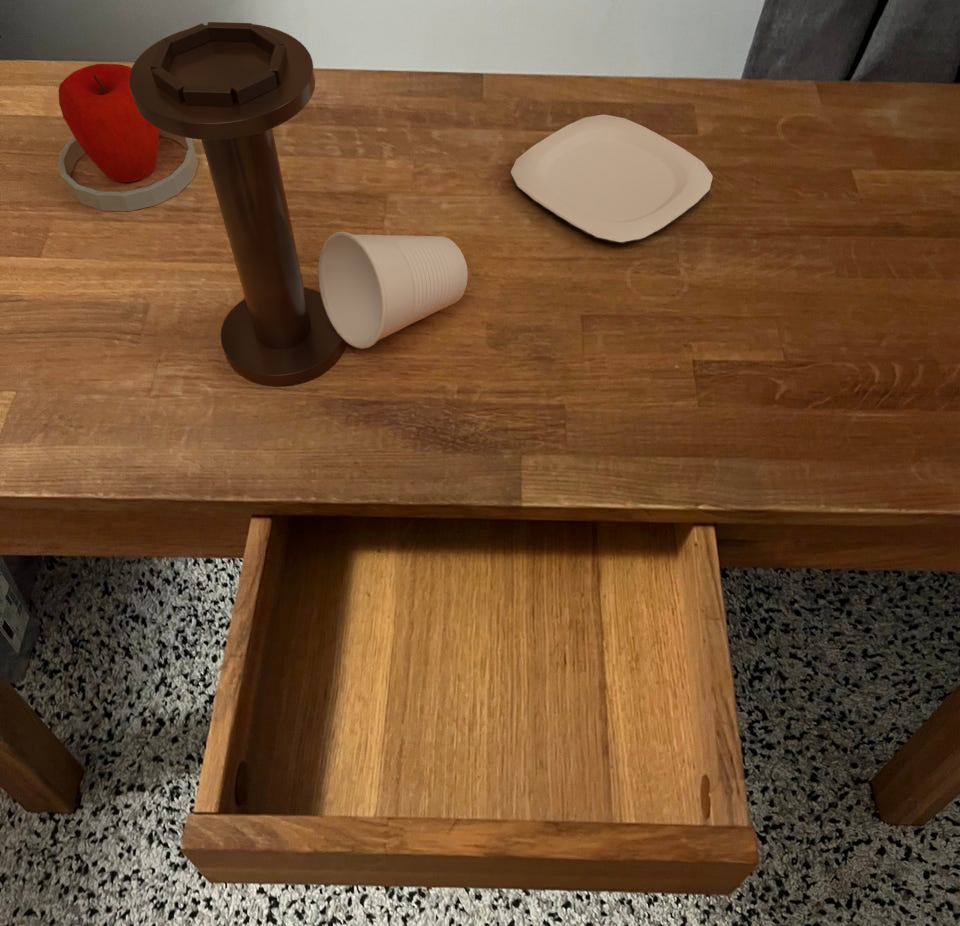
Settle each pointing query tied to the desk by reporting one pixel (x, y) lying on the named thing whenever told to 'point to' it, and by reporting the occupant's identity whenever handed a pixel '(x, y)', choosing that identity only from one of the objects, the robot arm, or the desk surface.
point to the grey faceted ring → (133, 197)
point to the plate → (612, 178)
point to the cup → (387, 282)
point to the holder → (246, 182)
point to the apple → (109, 121)
